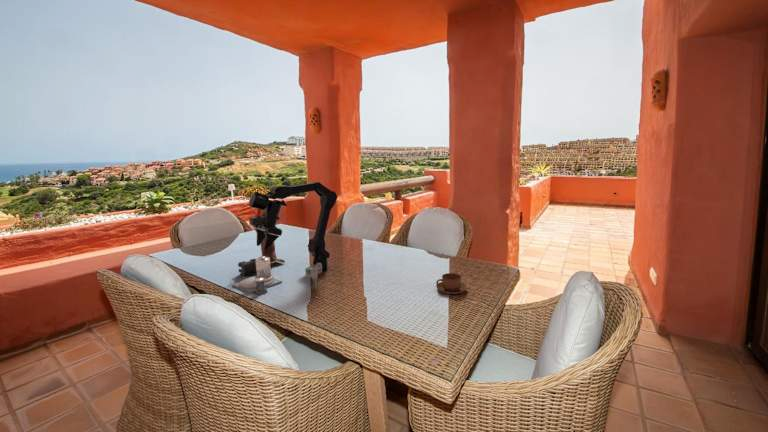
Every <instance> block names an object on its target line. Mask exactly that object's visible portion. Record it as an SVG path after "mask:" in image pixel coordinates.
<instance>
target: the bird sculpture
mask: <svg viewBox="0 0 768 432" xmlns="http://www.w3.org/2000/svg"><path fill="white" fill-rule="evenodd" d="M266 209H267V208H266ZM266 209H264V210H261V212H262V214H263V213H265V212H267V211H266ZM265 240H266V236H265V238H264V240H263V241H262V243H261V244H260V249H261V250H260V252H261V256H266V257H269V258H270V264H274V263H276V262H277V263H279V262H280V263H286V262H285V260H284V259H281V258H277V254H276V243H275V241H274V242H273V243H272V244H271V245H270V246H269V248H268V249H267V250H266V249H264V246H265Z"/></svg>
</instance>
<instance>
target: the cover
mask: <svg viewBox="0 0 768 432" xmlns="http://www.w3.org/2000/svg"><path fill="white" fill-rule="evenodd" d="M254 259H255V260H256V271H257V273H256V275H255V276H256V277H255V279H256V278H260V277H263V278H264V282H268V281H271V280H273V279H275V278H274V274H272V268H271V263H270V258H269V257H266V256H262V255H261V256H259V257H257V258H254Z"/></svg>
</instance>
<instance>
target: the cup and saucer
mask: <svg viewBox="0 0 768 432" xmlns="http://www.w3.org/2000/svg"><path fill="white" fill-rule="evenodd" d="M435 284H436V286H435V287H436V289H437V291H439V292H441V293H443V294H447V295H459V294H461V293H462V294H463V293H464V292H465V291H467V285H466V284H465V283H462V276H461V275H460V274H458V273H450V272H449V273H444V274H442V276H441V278H439V279H437V280H436V282H435Z"/></svg>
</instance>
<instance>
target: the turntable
mask: <svg viewBox="0 0 768 432" xmlns="http://www.w3.org/2000/svg"><path fill="white" fill-rule="evenodd" d="M256 276H257V275H255V276H250V277H246V278H245V279H243V280H241V281H237V282H234V283H231V286H232V287H234V288H236V289H238V290H241V291H244V292H245V293H248V294H254V293H255V292H254V290H256V289H257V287H256V281H255V277H256ZM282 283H283V281H282V280H280V279H276V278H274V279H273V280H271V281H268V282H264V288H265V289H268V288H271V287H273V286H276V285H280V284H282Z"/></svg>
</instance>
